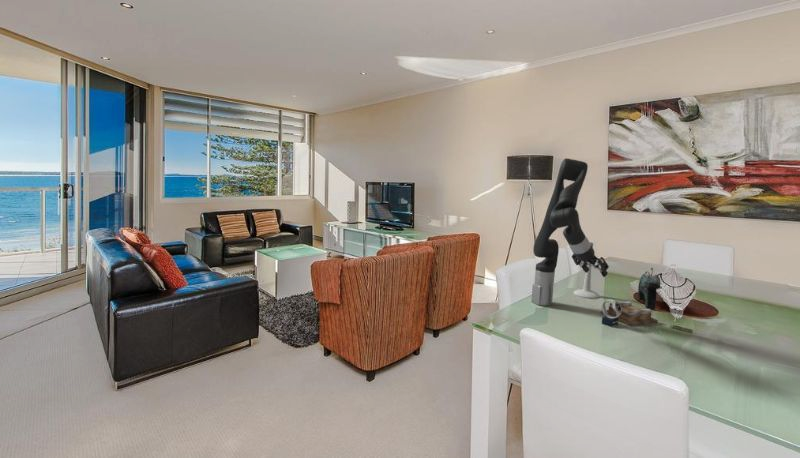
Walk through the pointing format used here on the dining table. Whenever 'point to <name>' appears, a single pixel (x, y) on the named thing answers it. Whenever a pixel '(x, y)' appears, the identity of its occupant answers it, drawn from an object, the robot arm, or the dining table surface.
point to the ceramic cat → (648, 289)
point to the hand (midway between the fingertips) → (596, 273)
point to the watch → (610, 319)
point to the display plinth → (632, 314)
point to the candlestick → (587, 286)
